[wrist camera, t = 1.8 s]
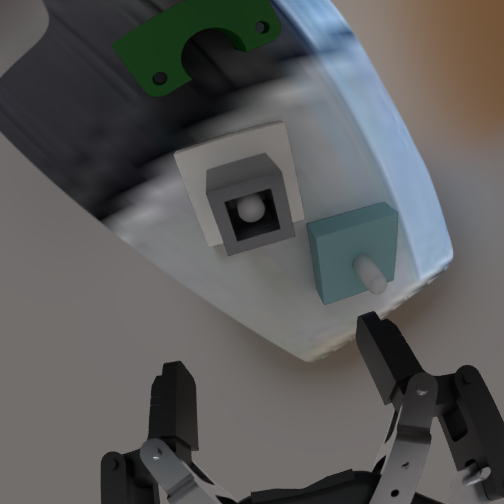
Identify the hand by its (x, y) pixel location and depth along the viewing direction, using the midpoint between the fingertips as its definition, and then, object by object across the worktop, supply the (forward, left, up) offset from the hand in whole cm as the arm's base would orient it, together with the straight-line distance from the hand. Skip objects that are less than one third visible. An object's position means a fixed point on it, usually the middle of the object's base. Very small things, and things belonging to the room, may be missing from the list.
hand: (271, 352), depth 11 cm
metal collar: (-1, +1, -17) cm, 17 cm away
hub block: (+10, +12, -18) cm, 24 cm away
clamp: (-16, +1, -19) cm, 24 cm away
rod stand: (-1, +1, -18) cm, 18 cm away
